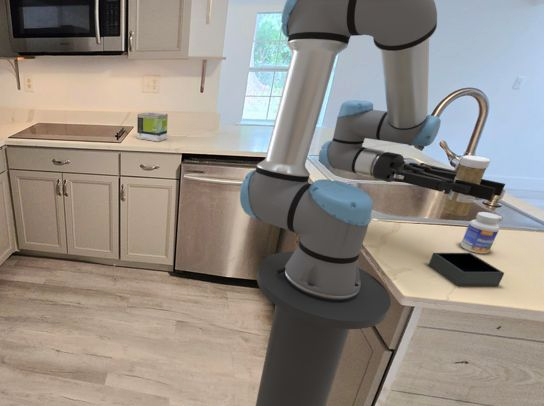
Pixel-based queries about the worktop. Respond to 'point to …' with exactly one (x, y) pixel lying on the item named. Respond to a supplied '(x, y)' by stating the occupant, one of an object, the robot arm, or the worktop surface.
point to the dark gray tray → (466, 269)
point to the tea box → (152, 126)
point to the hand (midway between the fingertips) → (497, 192)
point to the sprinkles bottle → (468, 172)
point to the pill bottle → (481, 233)
